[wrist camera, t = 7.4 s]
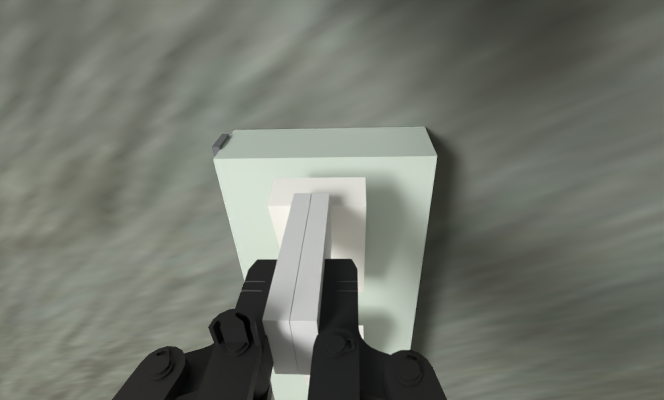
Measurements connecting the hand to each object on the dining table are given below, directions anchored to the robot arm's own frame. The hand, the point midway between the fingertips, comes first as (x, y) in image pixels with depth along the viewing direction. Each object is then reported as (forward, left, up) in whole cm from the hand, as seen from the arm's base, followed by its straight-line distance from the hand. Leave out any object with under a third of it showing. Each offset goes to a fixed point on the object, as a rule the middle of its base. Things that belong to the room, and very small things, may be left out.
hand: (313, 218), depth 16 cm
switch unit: (+14, 0, -8) cm, 16 cm away
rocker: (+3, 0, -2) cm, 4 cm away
